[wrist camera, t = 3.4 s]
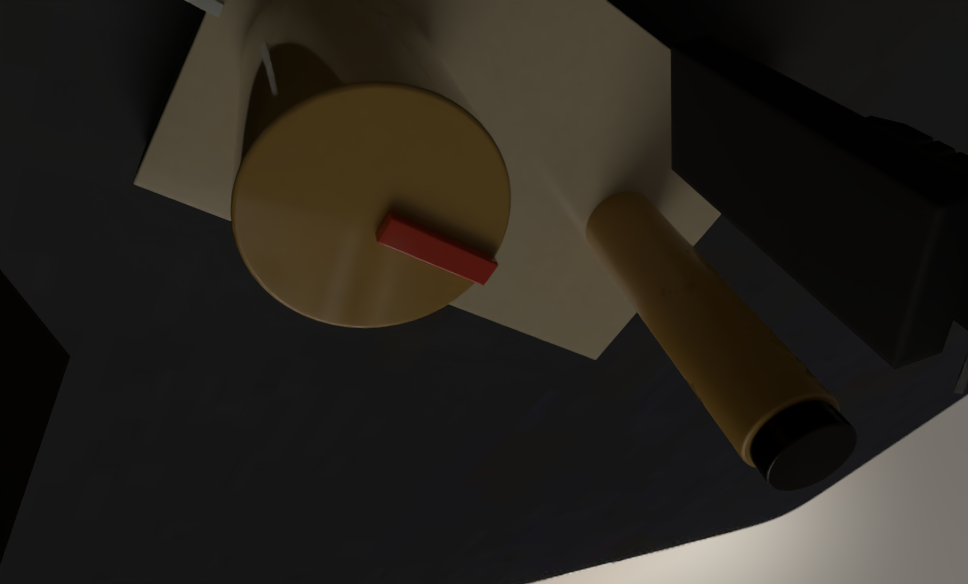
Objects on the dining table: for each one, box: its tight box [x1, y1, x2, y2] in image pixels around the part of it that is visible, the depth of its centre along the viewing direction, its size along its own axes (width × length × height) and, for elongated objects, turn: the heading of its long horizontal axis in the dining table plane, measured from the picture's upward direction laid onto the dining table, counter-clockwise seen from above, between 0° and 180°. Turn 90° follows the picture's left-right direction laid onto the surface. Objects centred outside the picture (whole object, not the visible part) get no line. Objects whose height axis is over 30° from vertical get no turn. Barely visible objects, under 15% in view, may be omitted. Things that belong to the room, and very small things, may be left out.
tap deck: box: [133, 0, 721, 360], centre depth 22 cm, size 19×11×3 cm, turn 54°
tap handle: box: [230, 0, 511, 328], centre depth 15 cm, size 5×5×8 cm
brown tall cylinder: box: [586, 192, 857, 491], centre depth 20 cm, size 3×3×12 cm
